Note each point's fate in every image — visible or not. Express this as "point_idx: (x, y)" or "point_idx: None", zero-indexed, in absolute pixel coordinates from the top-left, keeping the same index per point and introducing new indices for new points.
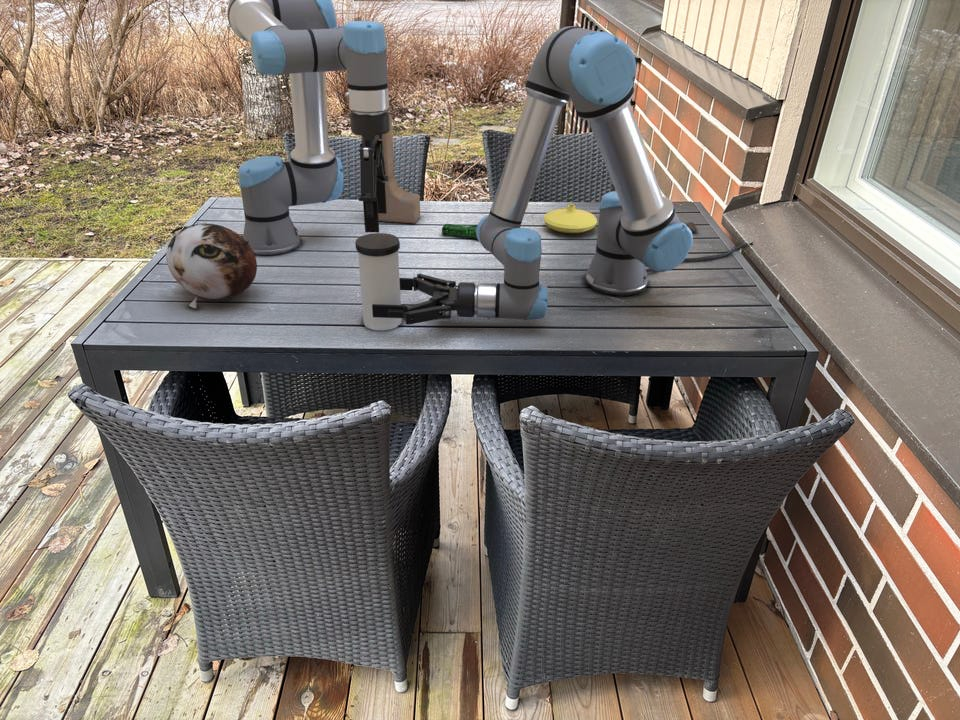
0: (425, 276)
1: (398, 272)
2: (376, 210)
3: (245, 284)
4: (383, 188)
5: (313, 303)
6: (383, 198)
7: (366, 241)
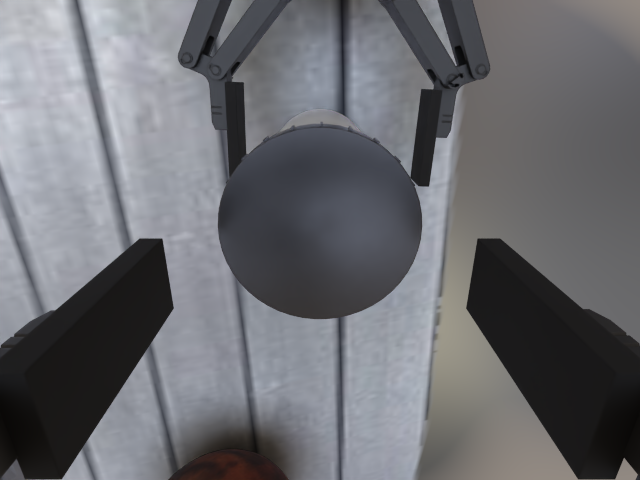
0: (197, 33)
1: (329, 121)
2: (585, 319)
3: (265, 463)
4: (66, 347)
5: (241, 320)
6: (118, 299)
7: (330, 277)
